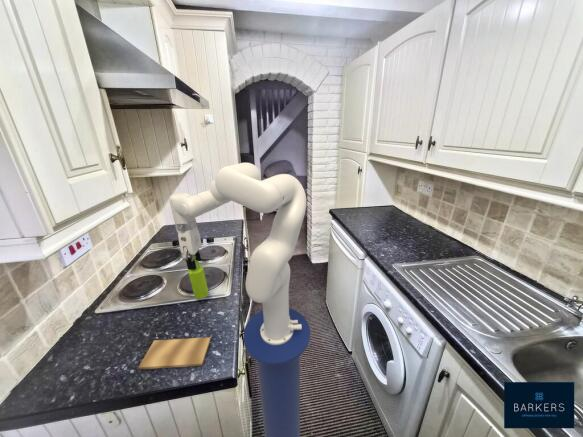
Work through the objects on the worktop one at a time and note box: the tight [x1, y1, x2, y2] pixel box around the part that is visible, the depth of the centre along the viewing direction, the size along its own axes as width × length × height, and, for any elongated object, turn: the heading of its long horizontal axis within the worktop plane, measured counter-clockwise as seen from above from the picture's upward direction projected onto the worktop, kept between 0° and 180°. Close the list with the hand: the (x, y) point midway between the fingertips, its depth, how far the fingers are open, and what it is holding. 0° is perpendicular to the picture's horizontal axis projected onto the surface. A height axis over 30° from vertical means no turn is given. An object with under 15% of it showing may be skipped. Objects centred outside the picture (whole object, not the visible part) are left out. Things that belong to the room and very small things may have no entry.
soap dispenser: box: [187, 252, 209, 300], centre depth 96 cm, size 6×7×20 cm
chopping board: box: [138, 336, 212, 370], centre depth 78 cm, size 20×10×1 cm, turn 93°
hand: (194, 264), depth 95 cm, fingers closed on soap dispenser, 5 cm apart
